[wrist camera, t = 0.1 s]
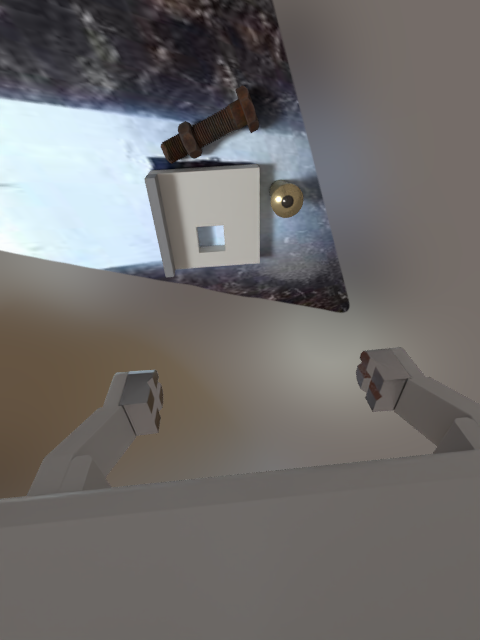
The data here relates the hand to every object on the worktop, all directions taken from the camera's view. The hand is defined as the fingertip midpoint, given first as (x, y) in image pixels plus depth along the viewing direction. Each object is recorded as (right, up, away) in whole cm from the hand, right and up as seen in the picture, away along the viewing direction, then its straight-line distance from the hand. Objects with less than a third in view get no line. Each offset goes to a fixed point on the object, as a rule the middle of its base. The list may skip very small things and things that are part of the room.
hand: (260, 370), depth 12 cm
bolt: (-6, +33, +36) cm, 49 cm away
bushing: (+6, +25, +42) cm, 49 cm away
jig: (-7, +21, +44) cm, 49 cm away
